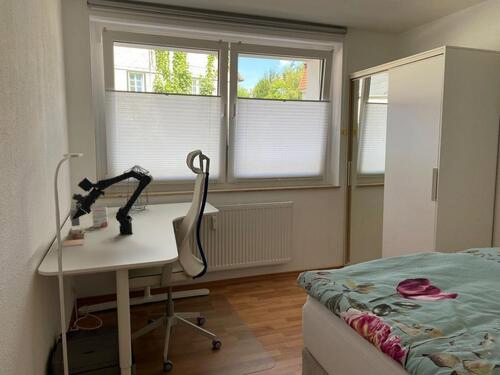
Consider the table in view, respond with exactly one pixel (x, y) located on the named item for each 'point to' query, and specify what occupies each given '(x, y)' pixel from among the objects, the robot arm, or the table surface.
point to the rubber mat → (72, 243)
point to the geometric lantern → (137, 186)
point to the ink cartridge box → (99, 215)
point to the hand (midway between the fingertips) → (72, 218)
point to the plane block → (76, 234)
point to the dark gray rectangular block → (74, 221)
